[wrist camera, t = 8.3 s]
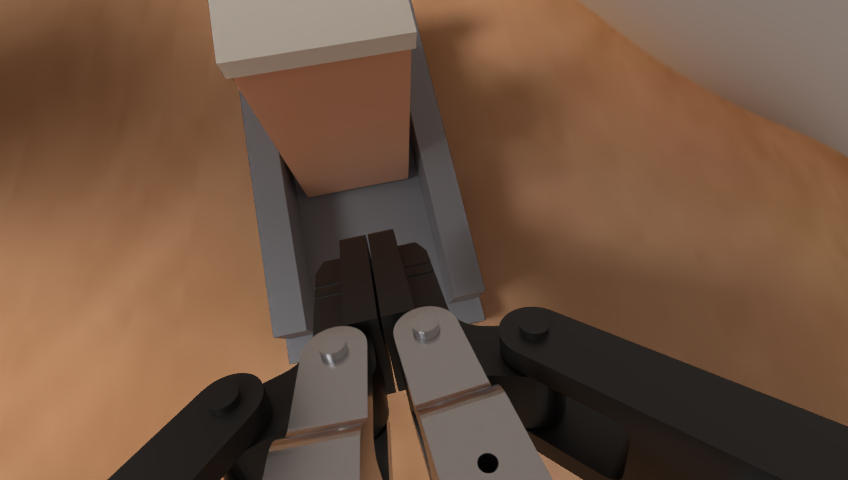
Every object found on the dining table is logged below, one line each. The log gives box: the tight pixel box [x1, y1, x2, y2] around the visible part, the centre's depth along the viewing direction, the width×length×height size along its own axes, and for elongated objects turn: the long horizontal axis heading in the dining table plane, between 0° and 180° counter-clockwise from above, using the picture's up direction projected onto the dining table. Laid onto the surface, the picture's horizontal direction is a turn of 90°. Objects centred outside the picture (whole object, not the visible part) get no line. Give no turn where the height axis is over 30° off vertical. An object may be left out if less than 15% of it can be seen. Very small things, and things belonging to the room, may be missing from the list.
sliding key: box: [208, 0, 417, 197], centre depth 16 cm, size 5×5×10 cm
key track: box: [239, 0, 485, 364], centre depth 19 cm, size 16×8×6 cm, turn 13°
